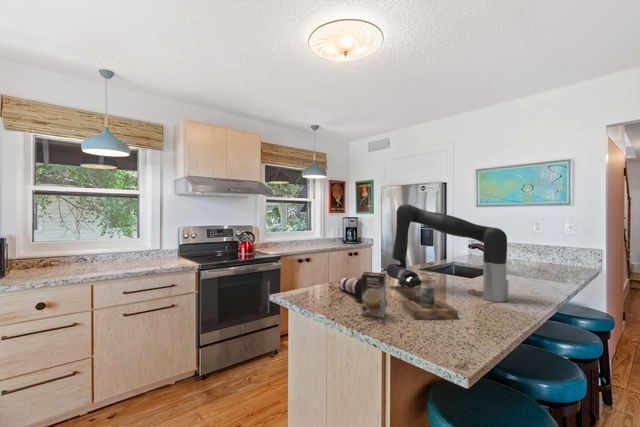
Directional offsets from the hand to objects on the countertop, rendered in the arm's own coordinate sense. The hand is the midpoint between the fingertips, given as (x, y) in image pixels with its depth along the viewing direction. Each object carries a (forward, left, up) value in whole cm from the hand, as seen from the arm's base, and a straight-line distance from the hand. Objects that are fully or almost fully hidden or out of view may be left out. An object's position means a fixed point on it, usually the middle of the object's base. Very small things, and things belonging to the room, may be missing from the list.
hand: (421, 286), depth 128 cm
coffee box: (+23, +7, -9) cm, 25 cm away
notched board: (0, +7, -9) cm, 11 cm away
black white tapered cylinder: (+25, -19, -9) cm, 33 cm away
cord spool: (0, +6, -9) cm, 11 cm away
